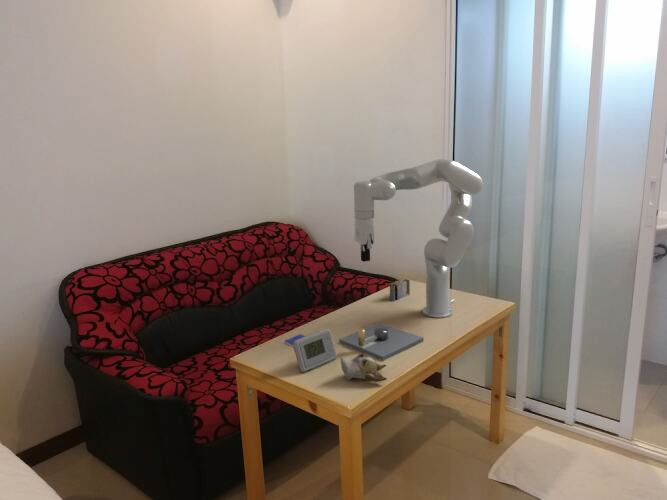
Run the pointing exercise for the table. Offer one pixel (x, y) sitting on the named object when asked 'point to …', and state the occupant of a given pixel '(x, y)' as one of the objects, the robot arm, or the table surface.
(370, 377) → the ceramic sculpture
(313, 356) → the digital clock
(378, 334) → the lever
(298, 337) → the hard drive
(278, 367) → the table surface
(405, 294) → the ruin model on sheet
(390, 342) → the dial plate
